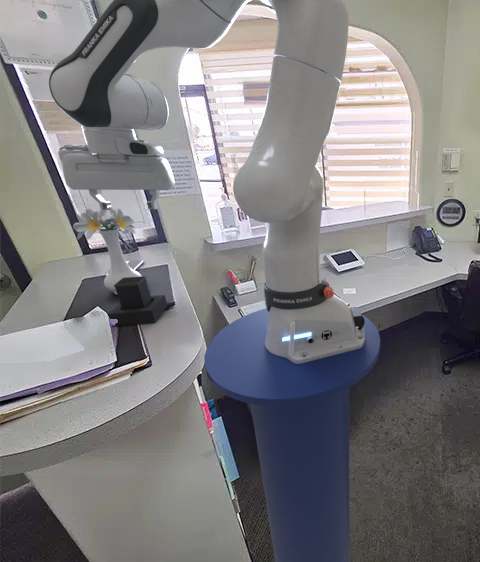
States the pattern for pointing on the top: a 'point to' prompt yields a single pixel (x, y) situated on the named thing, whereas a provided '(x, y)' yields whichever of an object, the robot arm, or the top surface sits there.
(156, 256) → the top surface
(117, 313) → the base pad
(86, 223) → the flower vase
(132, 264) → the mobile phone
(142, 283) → the black tall block
